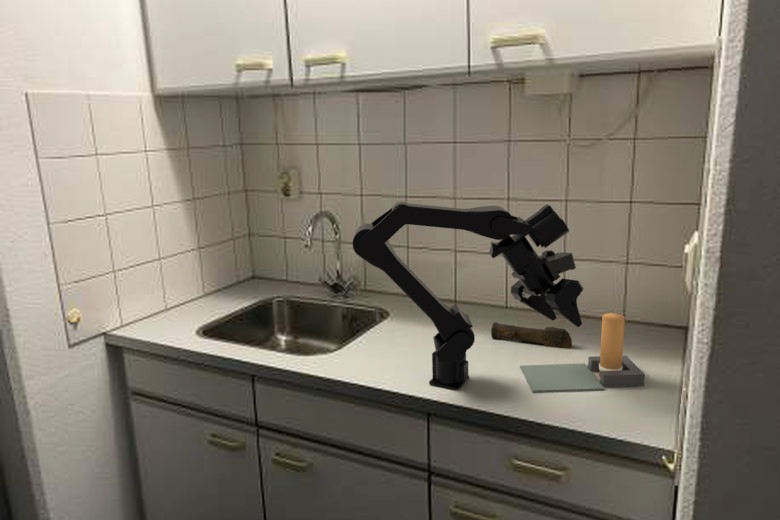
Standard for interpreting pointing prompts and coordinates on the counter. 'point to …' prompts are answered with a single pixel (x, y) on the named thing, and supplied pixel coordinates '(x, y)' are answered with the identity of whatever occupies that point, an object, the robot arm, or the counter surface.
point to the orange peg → (611, 342)
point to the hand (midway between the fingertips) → (566, 322)
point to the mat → (560, 378)
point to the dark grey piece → (618, 373)
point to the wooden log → (533, 335)
